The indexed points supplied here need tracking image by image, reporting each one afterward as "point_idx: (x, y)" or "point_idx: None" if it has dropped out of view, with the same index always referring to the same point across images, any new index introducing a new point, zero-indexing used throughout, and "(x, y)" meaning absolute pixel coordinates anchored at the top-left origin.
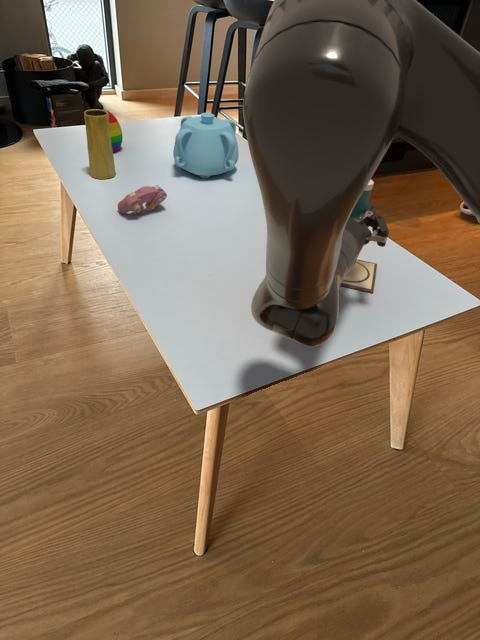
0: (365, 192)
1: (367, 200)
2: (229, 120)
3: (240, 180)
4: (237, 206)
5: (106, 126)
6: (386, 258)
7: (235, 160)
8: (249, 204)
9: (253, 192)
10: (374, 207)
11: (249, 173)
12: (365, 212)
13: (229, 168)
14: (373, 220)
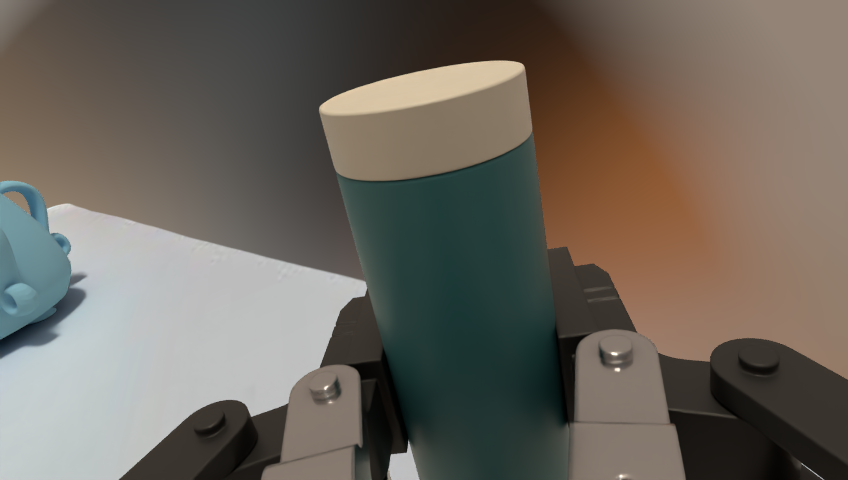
0: (492, 179)
1: (540, 248)
2: (4, 182)
3: (84, 326)
4: (29, 443)
5: None
6: None
7: (51, 278)
8: (84, 410)
9: (115, 351)
10: (586, 270)
11: (121, 292)
12: (582, 370)
13: (19, 311)
14: (715, 425)
